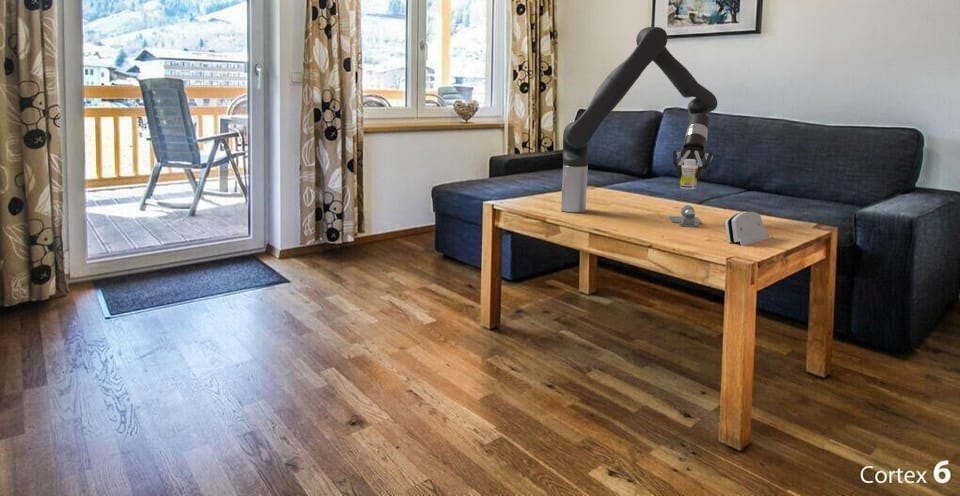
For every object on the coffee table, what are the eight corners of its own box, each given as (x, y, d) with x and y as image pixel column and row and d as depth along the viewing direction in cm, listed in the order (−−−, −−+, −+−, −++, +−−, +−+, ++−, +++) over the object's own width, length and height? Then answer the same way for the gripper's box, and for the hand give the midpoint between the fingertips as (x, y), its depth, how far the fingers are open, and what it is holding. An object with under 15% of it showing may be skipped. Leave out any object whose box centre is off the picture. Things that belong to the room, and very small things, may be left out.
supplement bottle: (691, 187, 237) (693, 158, 235) (699, 189, 232) (701, 160, 229) (677, 187, 236) (679, 158, 234) (684, 190, 231) (686, 160, 228)
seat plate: (672, 222, 233) (672, 221, 233) (669, 216, 242) (669, 215, 242) (701, 223, 231) (701, 222, 231) (697, 217, 241) (697, 216, 241)
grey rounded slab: (741, 246, 201) (735, 214, 202) (728, 248, 205) (721, 216, 205) (770, 238, 211) (763, 207, 212) (756, 240, 215) (750, 210, 215)
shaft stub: (680, 226, 227) (681, 208, 225) (677, 222, 234) (679, 205, 232) (698, 227, 226) (700, 209, 225) (695, 223, 233) (697, 205, 231)
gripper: (674, 131, 239) (666, 169, 231) (716, 133, 233) (709, 171, 226) (675, 145, 245) (667, 181, 237) (716, 147, 239) (709, 184, 232)
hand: (688, 176), depth 231 cm, fingers closed on supplement bottle, 5 cm apart
